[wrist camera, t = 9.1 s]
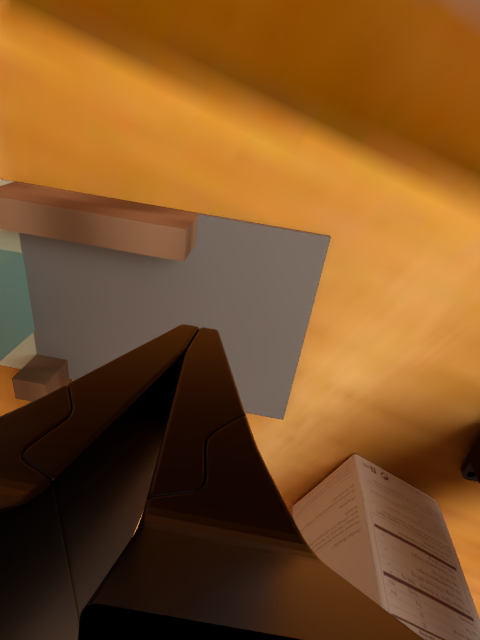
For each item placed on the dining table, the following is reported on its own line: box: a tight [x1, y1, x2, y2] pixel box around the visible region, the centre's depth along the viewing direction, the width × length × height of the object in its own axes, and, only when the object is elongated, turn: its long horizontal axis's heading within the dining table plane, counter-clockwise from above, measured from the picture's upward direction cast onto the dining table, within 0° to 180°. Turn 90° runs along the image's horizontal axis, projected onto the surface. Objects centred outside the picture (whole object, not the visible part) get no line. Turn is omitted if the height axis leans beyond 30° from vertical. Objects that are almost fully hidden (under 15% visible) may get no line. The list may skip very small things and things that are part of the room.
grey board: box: [0, 179, 331, 420], centre depth 23 cm, size 20×12×1 cm, turn 83°
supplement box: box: [293, 454, 480, 640], centre depth 23 cm, size 7×7×13 cm
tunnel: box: [0, 182, 200, 402], centre depth 23 cm, size 10×16×3 cm, turn 173°
